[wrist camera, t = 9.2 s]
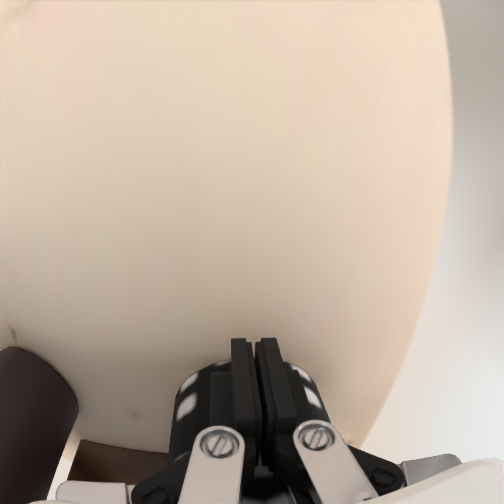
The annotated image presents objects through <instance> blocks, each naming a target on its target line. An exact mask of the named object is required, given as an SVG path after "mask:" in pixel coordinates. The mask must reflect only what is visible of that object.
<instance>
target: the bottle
mask: <svg viewBox="0 0 504 504" xmlns="http://www.w3.org/2000/svg"><path fill="white" fill-rule="evenodd" d="M77 414H78V407H77V402H76V399H75V397H74V396H73V394H72V392H71V390H70V388H69V387H68V385H67V384H66V383H65V382H64V380H63V379H62V378H61V377H60V376H59V374H58V373H57V372H55V371H54V370H53V369H52V368H51V367H50V366H49V365H48V364H47V363H45V362H44V361H42V360H41V359H40V358H38V357H37V356H35V355H34V354H32V353H29V352H27V351H25V350H23V349H20V348H13V347H8V348H6V349H4V350H1V351H0V504H29V503H31V502H35V501H42V500H46V499H47V496H48V493H49V490H50V487H51V484H52V481H53V478H54V475H55V472H56V469H57V466H58V464H59V461H60V458H61V456H62V453H63V450H64V448H65V445H66V443H67V440H68V438H69V435H70V433H71V430H72V428H73V425H74V423H75V421H76V418H77Z"/></svg>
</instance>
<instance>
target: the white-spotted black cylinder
mask: <svg viewBox="0 0 504 504" xmlns="http://www.w3.org/2000/svg"><path fill="white" fill-rule="evenodd" d="M254 362H255V358H254ZM283 365H284V368H285V370H295V369H297V370H298V371H299V374H300V377H301V380H302V382H303V385H304V388H305V391H306V394H307V397H308V400H309V403H310V406H311V409H312V412H313V415H314V418H315V420H322V421H325V422H329V423H330V424H331V422H330V419H329V417H328V414H327V412H326V409H325V407H324V404H323V402H322V399H321V397H320V394H319V392H318V389H317V387H316V385H315V383H314V382H313V380H312V379H311V377H310V376H309V375H308V374H306V373H305V372H304V371H303V370H302V369H300V368H298V367H296V366H294V365H292V364H290V363H286V362H283ZM212 372H231V360H226V361H223V362H219V363H216V364H213V365H210V366H208V367H206V368H204V369H202V370H200V371H198V372H196V373H195V374H194V375H192V376H191V377H189V378H188V379H187V380H186V381H185V382H184V384H183V385H182V386H181V387H180V389H179V391H178V393H177V395H176V399H175V406H174V414H173V421H172V429H171V437H170V445H169V454H168V463H167V466H168V465H170V464H171V463H173V462H174V461H176V460H178V459H179V458H181V457H182V456H184V455H185V454H187V453H188V452H190V451H191V450H192V449H193V445H194V442H195V439H196V437H197V435H198V434H199V433H200V432H201V431H202V430H204V429H206V428H208V427H209V420H210V392H211V373H212ZM242 504H289V501H288V499H287V496H286V494H285V491H284V489H283V486H282V481H281V480H279V479H277V478H276V477H274V476H273V472H269V469H268V466H262V460H261V453H260V451H259V461H258V466H255V472H254V478H253V479H252V480H250V481H249V482H248V483H247V484H246V485H245V486H244V489H243V498H242Z"/></svg>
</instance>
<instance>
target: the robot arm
mask: <svg viewBox="0 0 504 504" xmlns="http://www.w3.org/2000/svg"><path fill="white" fill-rule="evenodd" d="M259 451H260V453H261V460H262V466H268V469H269V472H273V476H274V477H276V478H277V479H279V480H281V481H282V486H283V489H284V491H285V494H286V496H287V499H288V501H289V504H504V461H503V460H499V459H481V460H480V459H479V460H474V461H470V462H466V463H463V464H462V463H461V461H460V459H459V458H458V457H456V456H455V455H452V454H443V455H438V456H433V457H428V458H422V459H417V460H410V461H403V462H402V463H401V464H398V465H396V464H394V463H392V462H390V461H387V460H385V459H382V458H379V457H376V456H374V455H371V454H369V453H366V452H364V451H362V450H359V449H357V448H354V447H352V446H350V445H347V444H346V443H345V441H344V439H343V438H342V436H341V435H340V433H339V431H338V430H337V429H336V428H335V426H333V425H332V424H330V423H329V422H325V421H322V420H315V418H314V415H313V412H312V409H311V406H310V403H309V400H308V397H307V394H306V391H305V388H304V385H303V382H302V380H301V377H300V374H299V371H298V370H297V369H295V370H285V368H284V365H283V361H282V357H281V354H280V350H279V347H278V343H277V340H276V338H261V342H256V343H255V362H254V356H253V349H252V343H251V342H246V338H231V372H212V373H211V392H210V420H209V427H208V428H206V429H204V430H202V431H201V432H200V433H199V434H198V435H197V437H196V439H195V442H194V445H193V449H192V450H191V451H190V452H188V453H187V454H185V455H184V456H182V457H181V458H179V459H178V460H176V461H174V462H173V463H171V464H170V465H168V466H166V467H165V468H163V469H161V470H160V471H158V472H156V473H155V474H153V475H151V476H149V477H148V478H146V479H144V480H142V481H141V482H139V483H138V484H137V485H126V484H125V483H103V482H86V481H74V480H71V481H65V482H63V483H61V484H60V485H59V486H58V488H57V491H56V500H42V501H35V502H31V503H29V504H242V498H243V489H244V486H245V485H246V484H247V483H248V482H249V481H250V480H252V479H253V478H254V472H255V466H258V461H259Z"/></svg>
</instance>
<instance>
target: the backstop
mask: <svg viewBox="0 0 504 504" xmlns="http://www.w3.org/2000/svg"><path fill="white" fill-rule="evenodd" d="M167 463H168V454H160V453H151V452H143V451H135V450H129V449H123V448H117V447H112V446H107V445H102V444H97V443H93V442H88V441H84V440H80V443H79V446H78V449H77V451H76V454H75V457H74V460H73V463H72V466H71V469H70V472H69V475H68V478H67V481H71V480H74V481H86V482H103V483H125V484H126V485H137V484H138V483H139V482H141V481H142V480H144V479H146V478H148V477H149V476H151V475H153V474H155V473H156V472H158V471H160V470H161V469H163V468H165V467H166V466H167Z"/></svg>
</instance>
